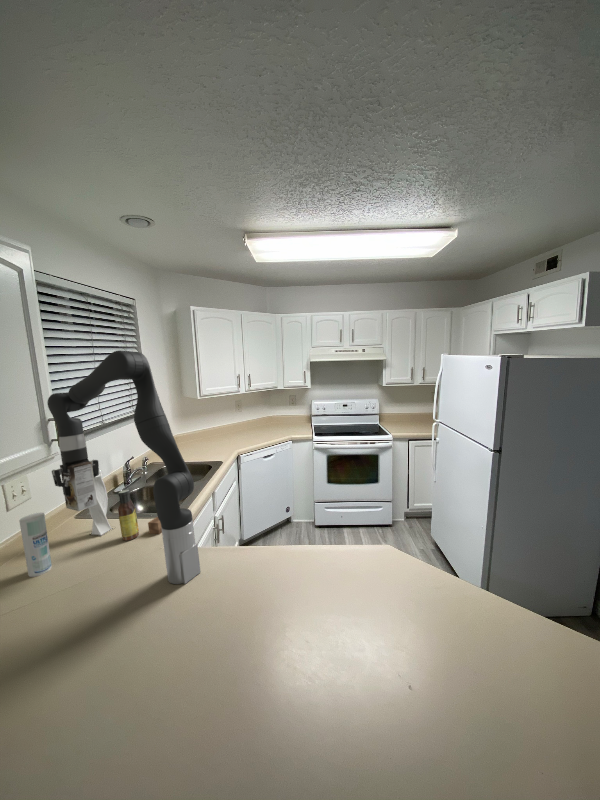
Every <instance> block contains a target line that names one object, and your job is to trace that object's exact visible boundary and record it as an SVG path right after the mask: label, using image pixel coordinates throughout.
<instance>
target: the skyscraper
mask: <svg viewBox="0 0 600 800" xmlns="http://www.w3.org/2000/svg"><path fill="white" fill-rule="evenodd" d="M94 484H95V492H96V500H97V505H94V506H92V507H89V508H88V511H89V514H90V516H91V519H92V530H91V535H90V536H94V535H98V536H97V537H102V536H104V535H106V534H107V532H108V531H109V532H111V531H112V530H111V529H113V528H111V527H112V526H111V525H110V522H109V519H108V518H107V512H108V503H109V502H108V491H107V488H106V484H105V481H104V480H103V471H102V470H101V469H99V475H98V476H96V477H94ZM110 530H111V531H110ZM113 530H114V529H113ZM109 532H108V533H109ZM105 533H106V534H105Z"/></svg>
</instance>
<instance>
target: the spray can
mask: <svg viewBox="0 0 600 800" xmlns="http://www.w3.org/2000/svg"><path fill="white" fill-rule="evenodd" d="M19 527H20V533H21V539H22V545H23V550H24V551H23V552H24V557H25V563H26V567H27V575H28V577H29V578H34V577H39V576H41V575H44V574H46V573H48V572H50V570H51V569H52V559H51V551H50V545H49V544H50V543H49V537H48V530H47V523H46V516H45V512H36V513H31V514H28V515H25V516H23V517H22V518H20V519H19Z"/></svg>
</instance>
